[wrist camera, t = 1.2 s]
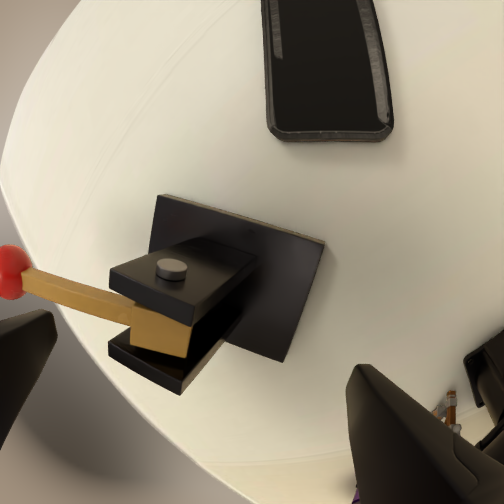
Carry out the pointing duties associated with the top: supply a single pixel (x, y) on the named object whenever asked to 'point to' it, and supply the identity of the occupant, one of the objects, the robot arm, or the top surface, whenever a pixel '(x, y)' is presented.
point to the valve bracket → (215, 287)
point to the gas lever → (92, 303)
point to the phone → (325, 71)
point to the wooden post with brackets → (449, 412)
